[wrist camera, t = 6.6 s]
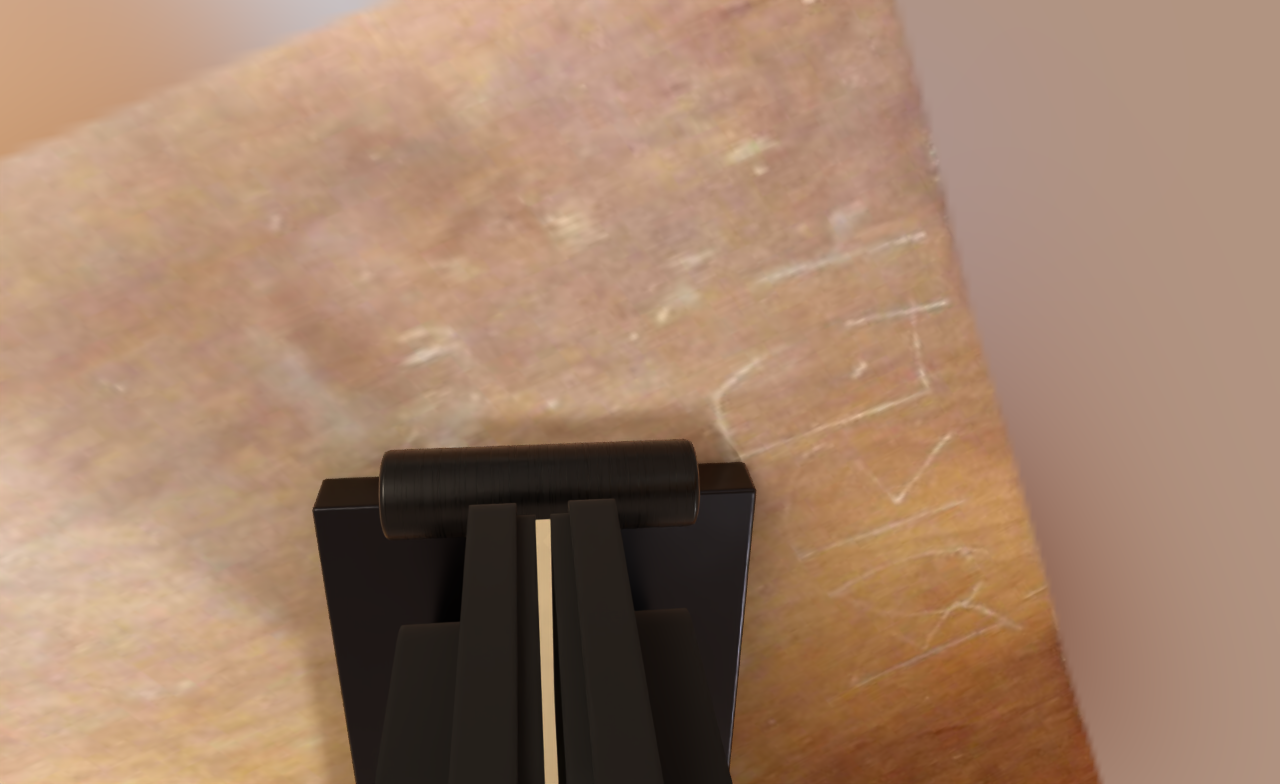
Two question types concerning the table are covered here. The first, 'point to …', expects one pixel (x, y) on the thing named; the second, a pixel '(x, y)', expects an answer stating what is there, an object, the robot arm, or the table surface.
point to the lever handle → (538, 504)
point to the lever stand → (433, 582)
